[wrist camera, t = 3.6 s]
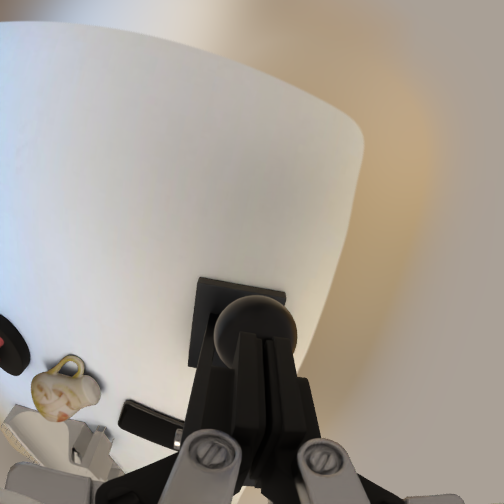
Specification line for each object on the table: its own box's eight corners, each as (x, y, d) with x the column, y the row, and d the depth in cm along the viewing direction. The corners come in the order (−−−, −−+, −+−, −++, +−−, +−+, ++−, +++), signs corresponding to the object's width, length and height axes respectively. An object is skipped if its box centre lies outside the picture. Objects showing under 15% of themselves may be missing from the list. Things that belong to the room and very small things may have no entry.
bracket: (199, 276, 27) (150, 408, 12) (285, 292, 27) (315, 430, 12) (189, 359, 30) (157, 486, 15) (262, 371, 30) (268, 501, 15)
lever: (224, 273, 12) (214, 324, 9) (302, 287, 12) (313, 339, 9) (199, 432, 17) (193, 471, 14) (245, 439, 17) (243, 478, 15)
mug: (119, 397, 33) (79, 449, 25) (81, 370, 37) (44, 414, 30) (90, 364, 29) (42, 422, 21) (54, 338, 33) (12, 385, 26)
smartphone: (117, 423, 34) (211, 458, 36) (116, 427, 33) (210, 462, 36) (126, 396, 32) (231, 437, 34) (124, 401, 31) (230, 441, 33)
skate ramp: (15, 404, 36) (-8, 437, 26) (106, 426, 35) (85, 475, 25) (73, 473, 44) (60, 503, 34) (157, 493, 43) (149, 530, 33)
